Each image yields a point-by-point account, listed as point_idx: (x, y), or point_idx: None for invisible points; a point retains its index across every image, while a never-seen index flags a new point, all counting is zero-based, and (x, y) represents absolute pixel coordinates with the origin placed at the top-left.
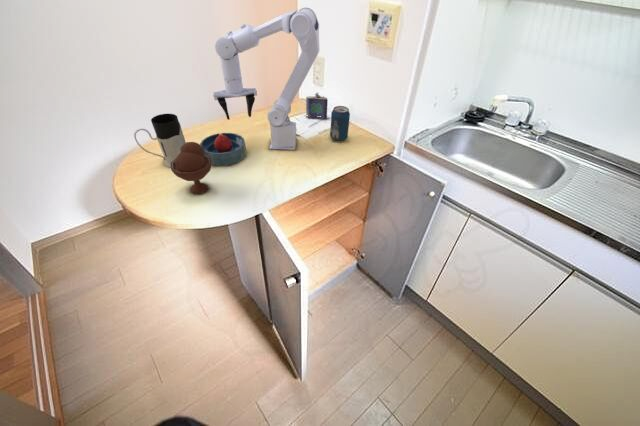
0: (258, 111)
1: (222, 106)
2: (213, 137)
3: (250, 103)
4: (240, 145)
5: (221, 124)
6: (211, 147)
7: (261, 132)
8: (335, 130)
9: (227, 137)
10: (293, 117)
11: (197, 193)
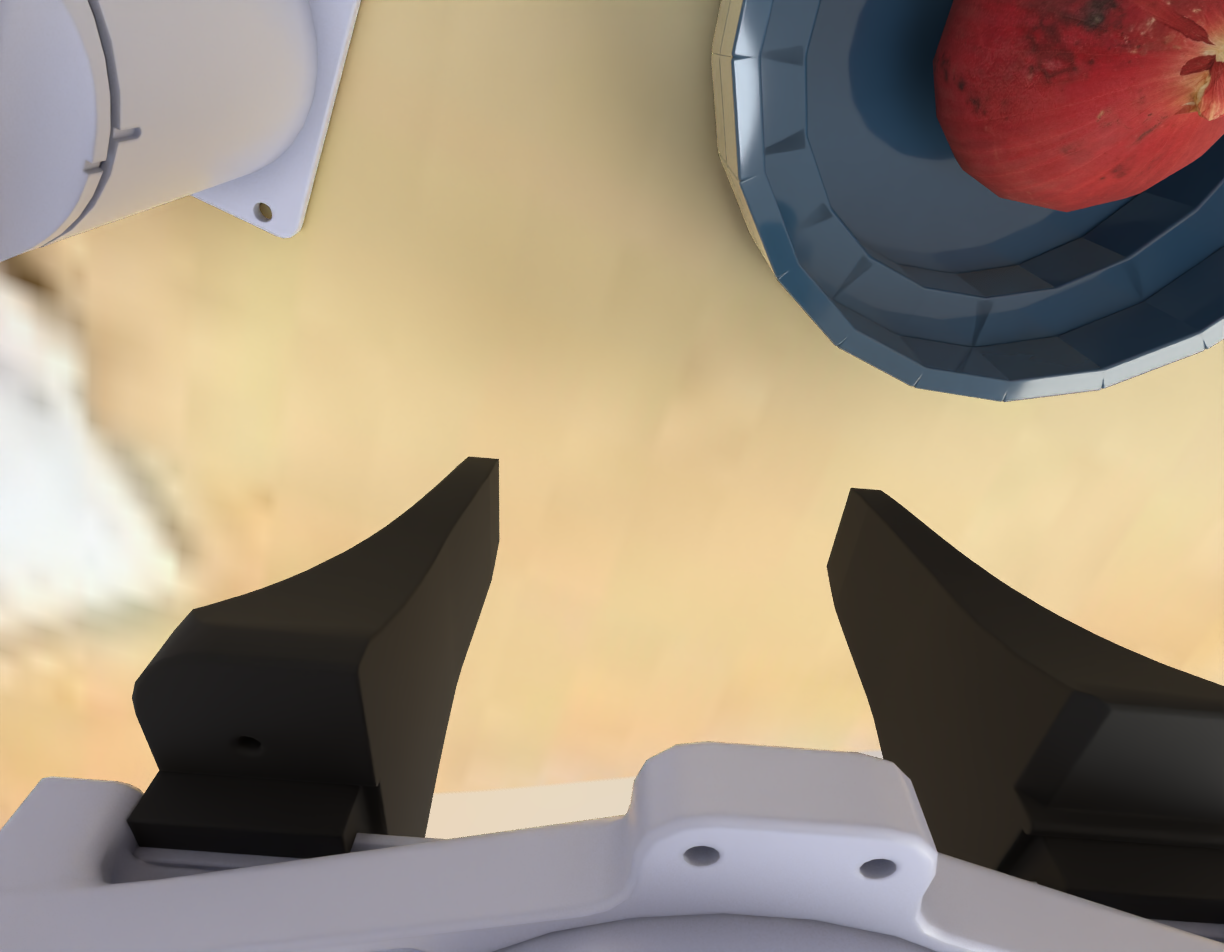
0: None
1: (1115, 653)
2: (1076, 356)
3: (359, 587)
4: (795, 44)
5: (738, 711)
6: (1125, 235)
7: (406, 447)
8: None
9: (1055, 57)
10: (24, 612)
11: None
